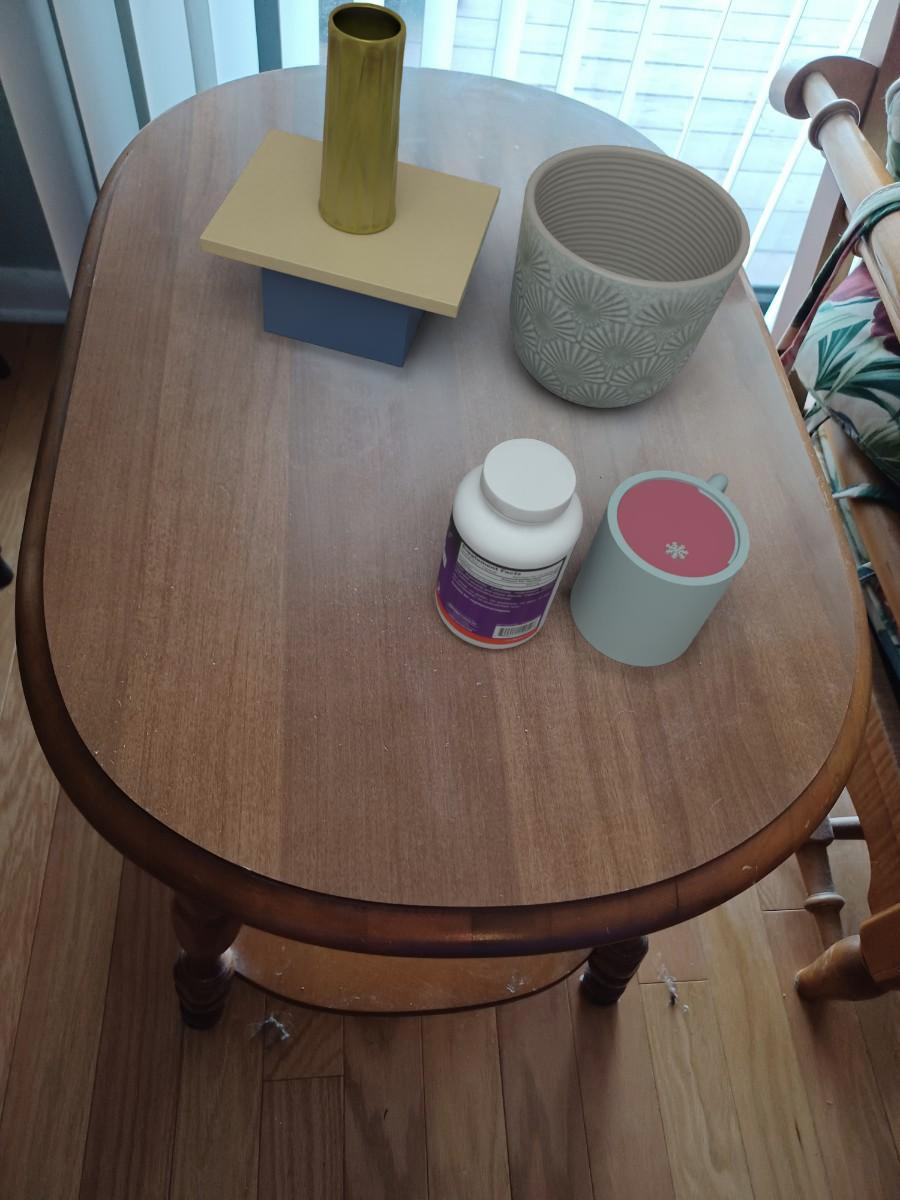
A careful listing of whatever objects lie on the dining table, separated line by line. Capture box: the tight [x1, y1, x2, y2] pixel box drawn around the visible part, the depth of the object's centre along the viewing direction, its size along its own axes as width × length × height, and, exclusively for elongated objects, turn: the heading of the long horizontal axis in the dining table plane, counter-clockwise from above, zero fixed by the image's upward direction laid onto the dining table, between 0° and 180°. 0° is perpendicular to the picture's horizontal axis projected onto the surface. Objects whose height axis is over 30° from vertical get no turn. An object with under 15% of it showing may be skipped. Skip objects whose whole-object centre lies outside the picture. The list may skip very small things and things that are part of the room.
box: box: [199, 127, 501, 368], centre depth 79 cm, size 20×16×9 cm
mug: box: [569, 469, 751, 668], centre depth 65 cm, size 14×9×10 cm
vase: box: [318, 1, 407, 234], centre depth 69 cm, size 6×6×14 cm
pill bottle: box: [434, 437, 584, 650], centre depth 61 cm, size 8×8×14 cm
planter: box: [508, 144, 751, 409], centre depth 76 cm, size 17×17×15 cm
